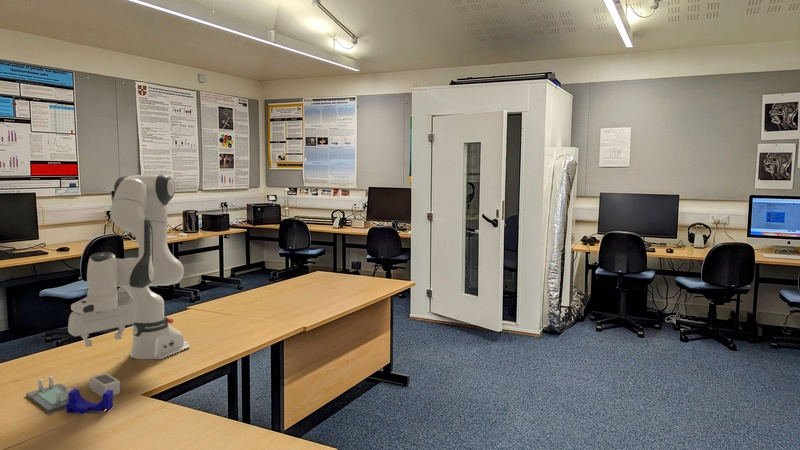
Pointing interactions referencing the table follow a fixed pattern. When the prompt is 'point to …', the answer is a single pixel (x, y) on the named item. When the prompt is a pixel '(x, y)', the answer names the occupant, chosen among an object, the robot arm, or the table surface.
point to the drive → (104, 384)
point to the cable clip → (88, 403)
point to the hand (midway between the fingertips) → (103, 342)
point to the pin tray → (50, 396)
